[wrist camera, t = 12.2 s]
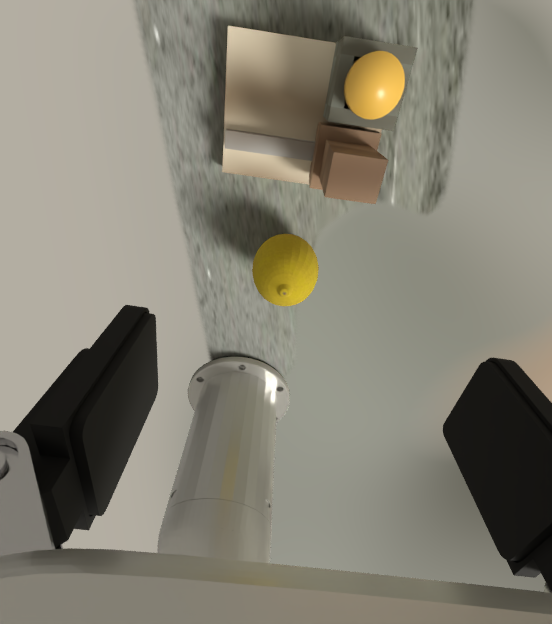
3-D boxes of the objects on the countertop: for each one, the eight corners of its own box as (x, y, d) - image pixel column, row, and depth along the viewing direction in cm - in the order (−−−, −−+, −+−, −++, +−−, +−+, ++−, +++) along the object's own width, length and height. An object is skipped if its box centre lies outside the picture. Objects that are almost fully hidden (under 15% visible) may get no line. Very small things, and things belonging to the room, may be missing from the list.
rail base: (361, 187, 29) (375, 207, 24) (225, 168, 28) (212, 184, 24) (396, 54, 24) (421, 48, 19) (231, 28, 23) (216, 15, 19)
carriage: (358, 185, 27) (379, 218, 20) (308, 178, 27) (313, 209, 20) (373, 128, 25) (401, 145, 18) (318, 120, 24) (327, 134, 18)
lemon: (244, 245, 32) (232, 287, 25) (291, 208, 30) (291, 244, 23) (281, 285, 34) (278, 334, 28) (327, 254, 32) (336, 299, 26)
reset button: (376, 116, 24) (394, 123, 20) (332, 109, 24) (340, 115, 20) (390, 60, 22) (413, 55, 18) (342, 53, 22) (354, 46, 18)
